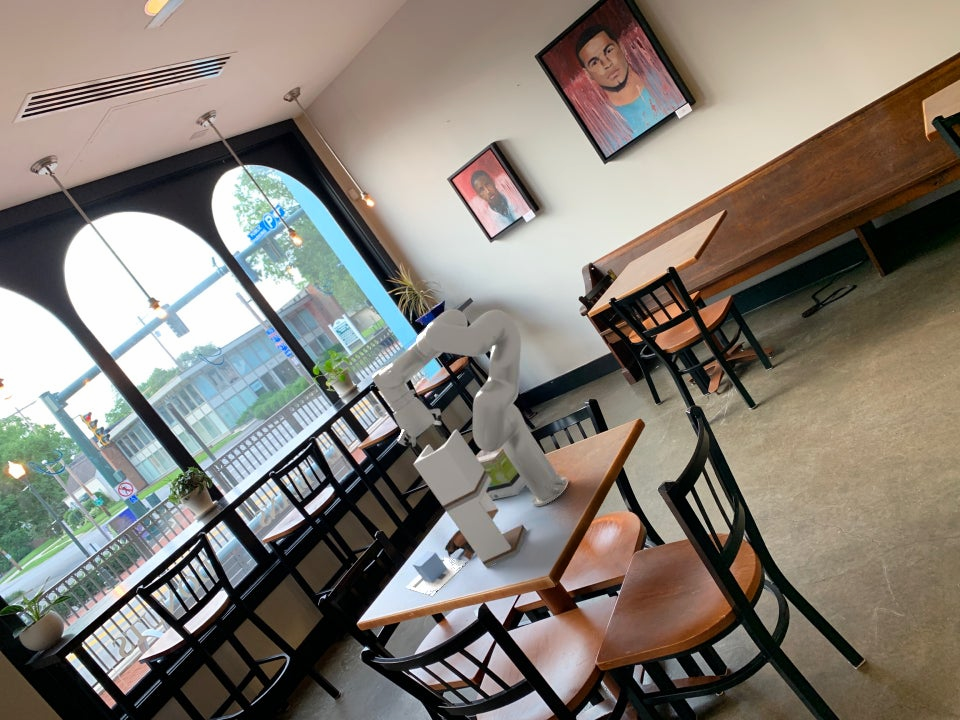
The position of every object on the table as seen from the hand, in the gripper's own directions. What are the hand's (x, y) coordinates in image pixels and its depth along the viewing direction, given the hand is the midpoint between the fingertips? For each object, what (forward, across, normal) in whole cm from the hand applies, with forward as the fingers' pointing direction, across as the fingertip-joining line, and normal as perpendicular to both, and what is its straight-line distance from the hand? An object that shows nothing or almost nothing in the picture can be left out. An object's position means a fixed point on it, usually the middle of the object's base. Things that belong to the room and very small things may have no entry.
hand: (433, 445), depth 230 cm
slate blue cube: (+28, +26, +9) cm, 39 cm away
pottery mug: (+29, +15, +14) cm, 35 cm away
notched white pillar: (+28, +12, +32) cm, 44 cm away
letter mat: (+28, +26, +9) cm, 39 cm away
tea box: (+29, -14, -1) cm, 32 cm away
